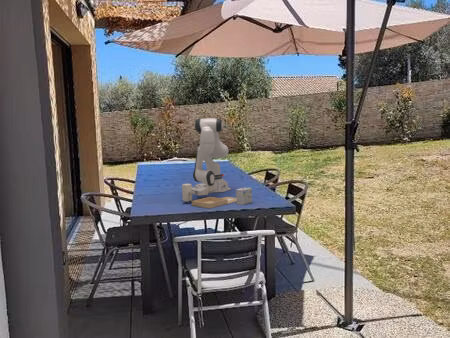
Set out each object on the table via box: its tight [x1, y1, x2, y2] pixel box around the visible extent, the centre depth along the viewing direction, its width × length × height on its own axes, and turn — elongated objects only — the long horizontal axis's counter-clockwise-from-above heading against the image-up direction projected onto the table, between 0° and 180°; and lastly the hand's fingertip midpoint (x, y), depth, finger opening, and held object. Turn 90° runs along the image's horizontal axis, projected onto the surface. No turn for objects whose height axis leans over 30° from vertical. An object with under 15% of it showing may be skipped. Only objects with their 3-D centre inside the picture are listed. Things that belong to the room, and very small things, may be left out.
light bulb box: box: [235, 186, 253, 206], centre depth 323 cm, size 11×7×11 cm, turn 141°
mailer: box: [191, 196, 236, 210], centre depth 329 cm, size 37×18×4 cm, turn 137°
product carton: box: [181, 183, 193, 203], centre depth 330 cm, size 5×5×12 cm
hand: (186, 192), depth 329 cm, fingers closed on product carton, 5 cm apart
